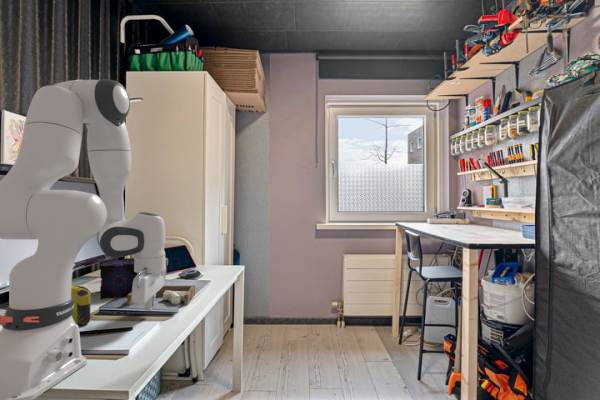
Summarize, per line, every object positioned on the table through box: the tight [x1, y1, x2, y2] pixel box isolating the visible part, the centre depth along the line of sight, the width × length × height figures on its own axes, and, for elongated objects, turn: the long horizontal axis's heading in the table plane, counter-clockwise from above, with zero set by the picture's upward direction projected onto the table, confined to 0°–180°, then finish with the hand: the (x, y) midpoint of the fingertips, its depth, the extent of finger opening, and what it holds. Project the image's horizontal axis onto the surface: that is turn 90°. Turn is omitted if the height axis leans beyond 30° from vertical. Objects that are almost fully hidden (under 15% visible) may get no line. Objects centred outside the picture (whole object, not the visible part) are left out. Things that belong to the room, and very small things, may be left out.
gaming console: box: [71, 284, 92, 326], centre depth 107 cm, size 26×4×10 cm, turn 57°
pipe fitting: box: [162, 290, 187, 306], centre depth 123 cm, size 8×4×7 cm
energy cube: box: [99, 257, 138, 300], centre depth 133 cm, size 12×12×12 cm
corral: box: [126, 285, 196, 307], centre depth 125 cm, size 12×20×4 cm, turn 95°
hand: (149, 309), depth 109 cm, fingers closed
